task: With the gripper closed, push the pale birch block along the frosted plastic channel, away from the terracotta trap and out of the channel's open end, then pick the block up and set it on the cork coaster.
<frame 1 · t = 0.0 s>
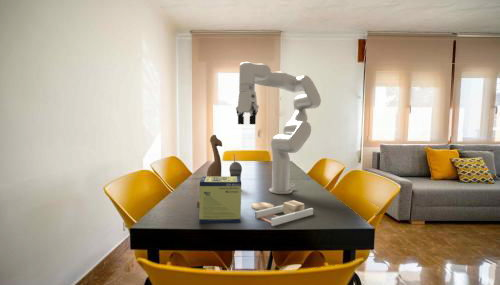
hand: (246, 124, 126), 37 cm above the table, tool pointing down, fingers open, 9 cm apart
protein box: (220, 218, 100), on the table
coaster: (262, 207, 115), on the table
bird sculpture: (213, 204, 118), on the table
block: (293, 214, 106), on the table
channel: (284, 216, 103), on the table
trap: (272, 219, 99), on the table
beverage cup: (235, 189, 147), on the table
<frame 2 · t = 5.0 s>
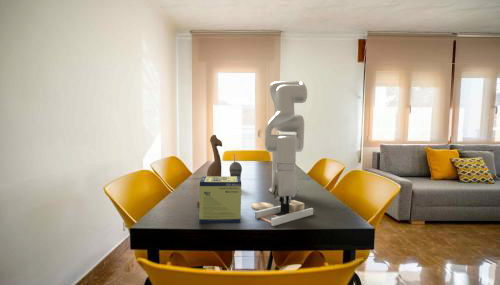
hand: (284, 212, 103), 1 cm above the table, tool pointing down, fingers closed
block: (293, 213, 107), on the table, touching gripper
everything else where it was.
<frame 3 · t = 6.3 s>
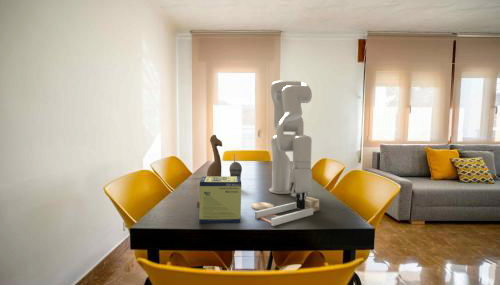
hand: (300, 208, 109), 1 cm above the table, tool pointing down, fingers closed
block: (308, 209, 112), on the table
everything else where it was.
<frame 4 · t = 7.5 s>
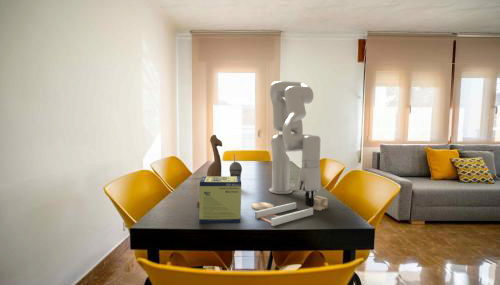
hand: (309, 205, 112), 2 cm above the table, tool pointing down, fingers closed
block: (317, 208, 115), on the table, touching gripper
everything else where it was.
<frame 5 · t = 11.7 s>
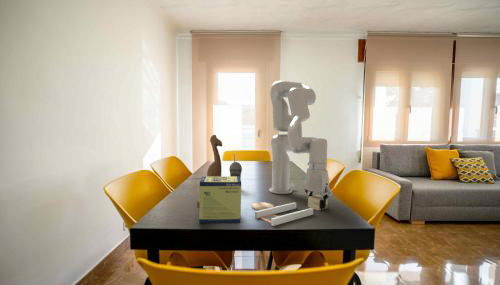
hand: (316, 206, 115), 1 cm above the table, tool pointing down, fingers closed on block, 6 cm apart
block: (317, 207, 115), on the table, touching gripper
everything else where it was.
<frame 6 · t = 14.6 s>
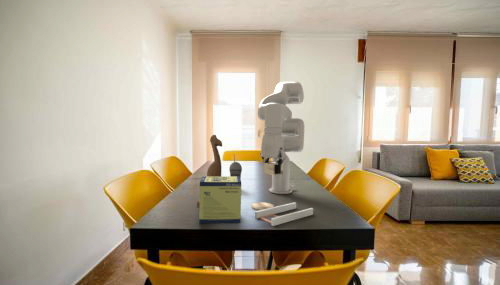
hand: (272, 172, 114), 16 cm above the table, tool pointing down, fingers closed on block, 6 cm apart
block: (273, 173, 114), point 15 cm above the table, touching gripper
everything else where it was.
when the fingers open (3 cm above the table, at t = 17.9 s): block drops 1 cm, resting on coaster.
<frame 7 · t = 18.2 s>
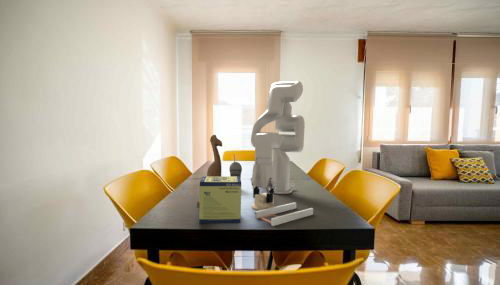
hand: (262, 199, 114), 3 cm above the table, tool pointing down, fingers open, 8 cm apart
block: (263, 205, 115), point 1 cm above the table, touching coaster
everything else where it was.
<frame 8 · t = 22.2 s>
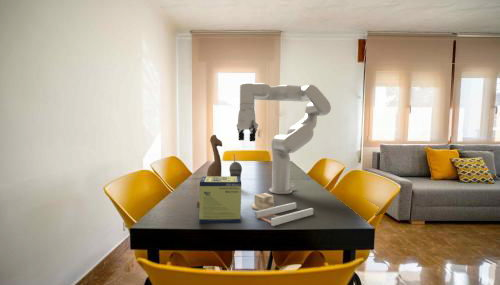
hand: (246, 140, 133), 28 cm above the table, tool pointing down, fingers open, 9 cm apart
nothing on the table moved.
at the end: block 0.7 cm off-centre on the coaster, point 0.6 cm above the coaster's base; block tilted 0°; the gripper is holding nothing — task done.
